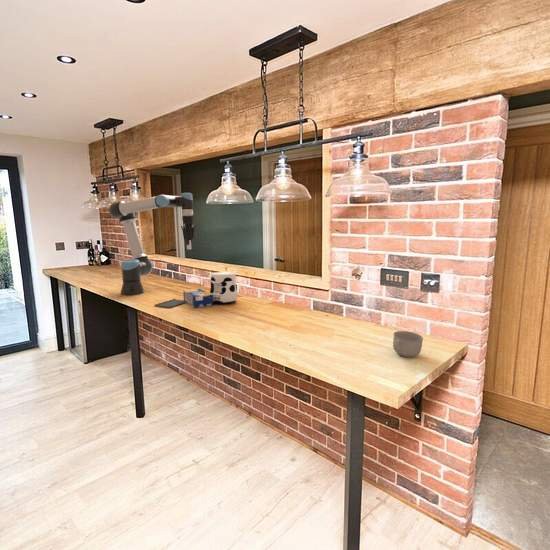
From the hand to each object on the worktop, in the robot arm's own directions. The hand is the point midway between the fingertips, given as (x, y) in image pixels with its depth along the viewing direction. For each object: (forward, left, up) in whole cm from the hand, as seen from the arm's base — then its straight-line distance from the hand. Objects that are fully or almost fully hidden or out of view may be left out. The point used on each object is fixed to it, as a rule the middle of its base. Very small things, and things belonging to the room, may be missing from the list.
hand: (189, 249), depth 257 cm
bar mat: (+14, -36, -30) cm, 49 cm away
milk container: (+40, -18, -31) cm, 53 cm away
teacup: (+153, -63, -31) cm, 168 cm away
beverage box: (+17, -21, -27) cm, 39 cm away
